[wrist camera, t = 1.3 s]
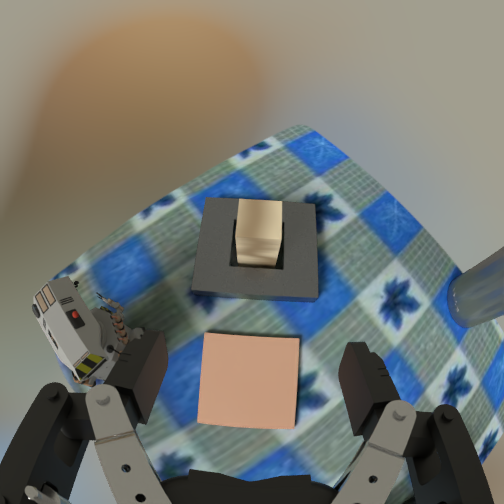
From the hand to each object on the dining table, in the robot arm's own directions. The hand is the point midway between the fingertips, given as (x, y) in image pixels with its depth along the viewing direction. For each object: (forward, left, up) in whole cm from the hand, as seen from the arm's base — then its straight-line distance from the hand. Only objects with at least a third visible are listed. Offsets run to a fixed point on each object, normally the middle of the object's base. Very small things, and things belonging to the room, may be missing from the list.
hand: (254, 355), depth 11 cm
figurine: (+18, 0, -24) cm, 30 cm away
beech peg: (0, -15, -24) cm, 28 cm away
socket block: (0, -15, -24) cm, 28 cm away
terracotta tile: (0, +3, -24) cm, 24 cm away
